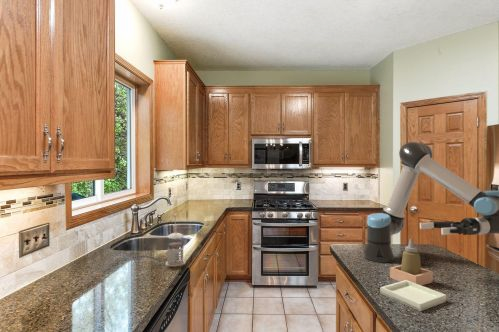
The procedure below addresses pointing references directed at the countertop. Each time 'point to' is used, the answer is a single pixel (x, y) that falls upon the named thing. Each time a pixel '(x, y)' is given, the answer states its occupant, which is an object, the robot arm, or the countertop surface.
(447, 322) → the countertop surface
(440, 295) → the tray
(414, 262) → the squeeze bottle
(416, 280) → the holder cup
